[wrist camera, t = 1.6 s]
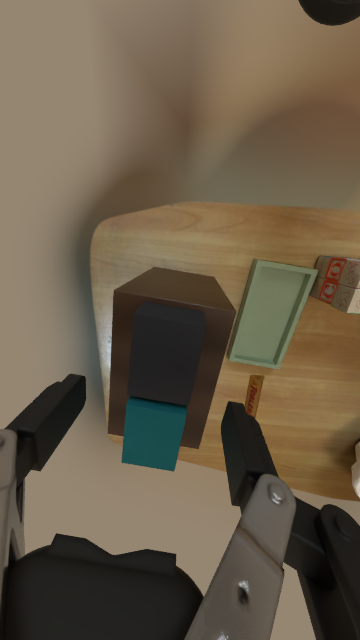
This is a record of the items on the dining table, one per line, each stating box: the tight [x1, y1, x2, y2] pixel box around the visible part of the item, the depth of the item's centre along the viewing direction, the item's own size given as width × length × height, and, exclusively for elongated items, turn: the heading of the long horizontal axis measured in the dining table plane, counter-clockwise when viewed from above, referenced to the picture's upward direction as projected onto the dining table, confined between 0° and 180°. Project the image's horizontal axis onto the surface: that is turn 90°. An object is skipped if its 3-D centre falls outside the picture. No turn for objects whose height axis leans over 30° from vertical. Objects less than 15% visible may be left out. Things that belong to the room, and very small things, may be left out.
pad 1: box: [127, 302, 207, 406], centre depth 16 cm, size 7×5×3 cm
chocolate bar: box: [245, 375, 264, 418], centre depth 40 cm, size 3×12×2 cm, turn 178°
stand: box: [108, 267, 236, 449], centre depth 27 cm, size 16×10×18 cm, turn 171°
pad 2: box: [122, 396, 187, 471], centre depth 19 cm, size 7×5×3 cm
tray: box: [227, 259, 319, 369], centre depth 34 cm, size 18×9×2 cm, turn 171°
